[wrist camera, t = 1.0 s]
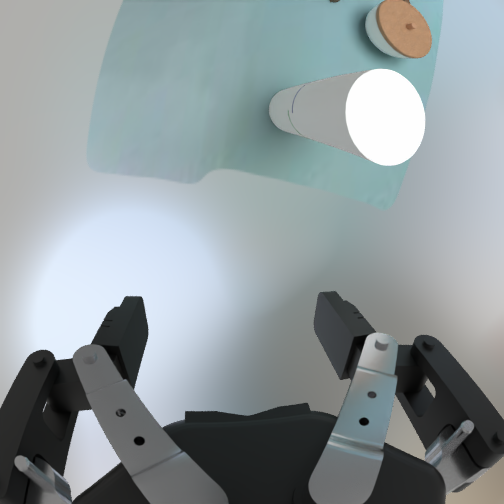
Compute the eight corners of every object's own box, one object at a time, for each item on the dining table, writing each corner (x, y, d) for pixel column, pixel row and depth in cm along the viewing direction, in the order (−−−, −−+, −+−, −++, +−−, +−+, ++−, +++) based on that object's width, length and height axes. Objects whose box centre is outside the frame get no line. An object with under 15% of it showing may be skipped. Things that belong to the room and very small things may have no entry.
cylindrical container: (317, 93, 36) (430, 89, 14) (310, 136, 39) (415, 174, 18) (271, 84, 35) (352, 54, 13) (266, 129, 38) (337, 155, 16)
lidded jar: (412, 37, 31) (445, 32, 23) (391, 72, 35) (425, 70, 26) (369, -1, 27) (399, -16, 19) (344, 33, 31) (374, 20, 23)
